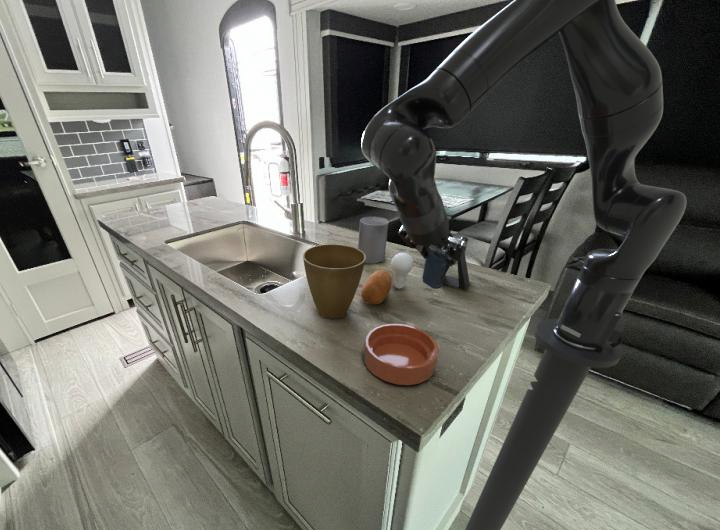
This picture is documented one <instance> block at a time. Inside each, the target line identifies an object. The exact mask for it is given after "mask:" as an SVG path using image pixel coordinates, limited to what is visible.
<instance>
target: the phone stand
mask: <svg viewBox="0 0 720 530" xmlns="http://www.w3.org/2000/svg"><path fill="white" fill-rule="evenodd" d="M466 250H467V248H466V249H465V251H464V253H463V255H462V257H461V259H460V261H456V263H457V276H458V277H452V276H448V275H447V273H448V271H449V270H450V268H451V266H448V264H447V265H446V269H445V273H444V278H443V283H442V286H446V287H450V288H455V289H460V290H463V291H465V290H466V288H467V286H468V284H469V282H470V277H469V271H468V266H467V265H468V264H467V259H466Z"/></svg>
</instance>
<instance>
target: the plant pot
mask: <svg viewBox="0 0 720 530" xmlns="http://www.w3.org/2000/svg"><path fill="white" fill-rule="evenodd" d="M302 259H303V266H304V271H305V276H306V281H307V284H308V288H309V291H310V294H311V297H312V300H313V303H314V305H315V307H316V310H317V312H318V314H319V315H320V316H321V317H323V318H324V319H329V320H336V319H341V318H343V317H345V316H346V314H347V312H348V311H349V309H350V306H351V305H352V302H353V300H354V298H355V295H356V293H357V290H358V288H359V285H360V282H361V278H362V275H363V271H364V267H365V264H366V263H365V259H366V256H365V254H364V253H363V252H362V251H361V250H359V249H358V247H355V246H351V245H348V244H347V245H346V244H338V243H337V244H336V243H326V244H324V243H323V244H319V245H315V246H311V247H309V248H308V249H306V250H305V251H304V252H303V253H302Z"/></svg>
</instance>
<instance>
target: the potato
mask: <svg viewBox="0 0 720 530" xmlns="http://www.w3.org/2000/svg"><path fill="white" fill-rule="evenodd" d="M392 281H393V279H392V275H391V274H390V272H388V271H386V270H382V269H377V270H374V271H373V272H372V273H371V274H370V275H369V277H368V278H367V279H366V281H365V282H364V283H363V285H362V288H361V293H360V295H361V299H362V301H363V302H364V303H365V304H368V305H373V306H375V305H380V304H381V303H382V302H384V301H385V300H386V298H387V296H388V295H389V294H390V292H391V290H392Z"/></svg>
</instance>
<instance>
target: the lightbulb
mask: <svg viewBox="0 0 720 530" xmlns="http://www.w3.org/2000/svg"><path fill="white" fill-rule="evenodd" d="M390 266H391V269H392V272H393V274H394V287H395V288H397V289H400V290H401V289H402V288H404V286H405V282H406V280H407V277H408V275H409V273H410V272H411V271H412V270H413V267H414V260H413V257H412V256H411V254H409V253H406V252H399V253H396V254H395V255H394V256H393V257H392V259H391V261H390Z"/></svg>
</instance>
